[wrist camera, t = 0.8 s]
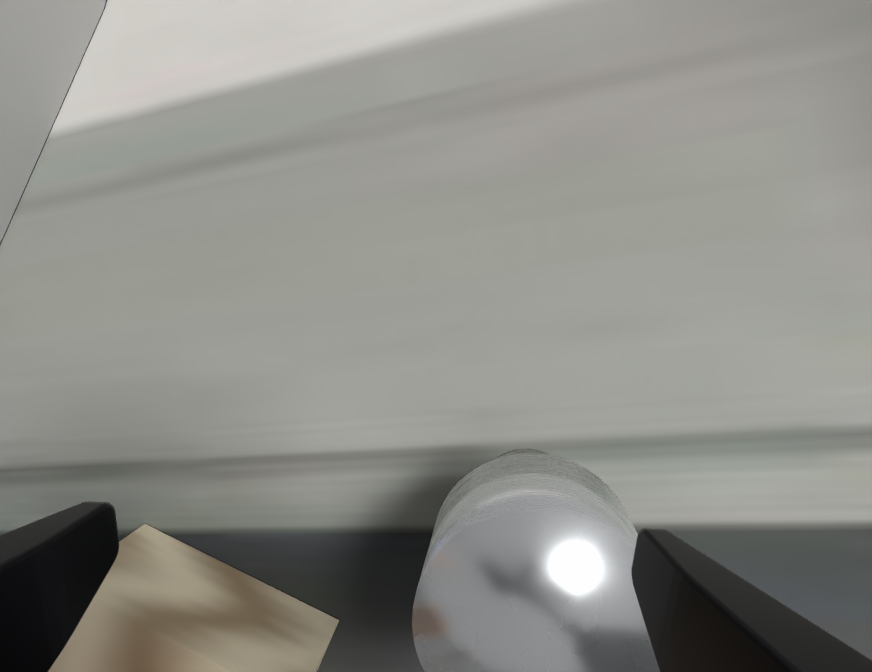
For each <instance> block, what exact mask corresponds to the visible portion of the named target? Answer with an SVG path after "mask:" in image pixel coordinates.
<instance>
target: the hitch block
mask: <svg viewBox="0 0 872 672" xmlns="http://www.w3.org/2000/svg"><path fill="white" fill-rule="evenodd" d="M338 623H339V620H338V619H336V618H334V617H332V616H330V615H328V614H326V613H324V612H322V611H320V610H318V609H316V608H313V607H311V606H309V605H307V604H305V603H303V602H301V601H299V600H297V599H295V598H293V597H291V596H289V595H287V594H285V593H283V592H281V591H279V590H277V589H275V588H273V587H271V586H269V585H267V584H265V583H263V582H261V581H259V580H257V579H255V578H253V577H251V576H249V575H247V574H245V573H243V572H241V571H239V570H237V569H235V568H233V567H231V566H229V565H227V564H225V563H223V562H221V561H219V560H217V559H215V558H213V557H211V556H209V555H207V554H205V553H203V552H201V551H199V550H197V549H195V548H193V547H191V546H189V545H186V544H184V543H182V542H180V541H178V540H176V539H174V538H172V537H170V536H168V535H166V534H164V533H162V532H160V531H158V530H156V529H154V528H152V527H150V526H148V525H146V524H144V525H142V526H141V527H140V528H138V529H137V530H135V531H134V532H132V533H131V534H130V535H128V536H127V537H125V538H124V539H122V540H121V541H120V542H119V551H118V555H117V557H116V560H115V562H114V563H113V565H112V567H111V569H110V570H109V572H108V574H107V576H106V577H105V579H104V581H103V582H102V584H101V586H100V588H99V589H98V591H97V593H96V595H95V596H94V598H93V600H92V601H91V603H90V605H89V607H88V608H87V610H86V612H85V614H84V615H83V617H82V619H81V620H80V622H79V624H78V626H77V627H76V629H75V631H74V633H73V634H72V636H71V637H70V639H69V641H68V642H67V644H66V646H65V647H64V649H63V650H62V652H61V653H60V655H59V656H58V658H57V659H56V661H55V662H54V664H53V665H52V667H51V668H50V669H49V671H48V672H317V671H318V668H319V666H320V664H321V661H322V659H323V657H324V655H325V652H326V650H327V648H328V645H329V643H330V641H331V639H332V636H333V634H334V632H335V629H336V627H337V625H338Z"/></svg>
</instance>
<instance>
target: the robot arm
mask: <svg viewBox="0 0 872 672" xmlns="http://www.w3.org/2000/svg"><path fill="white" fill-rule="evenodd" d="M118 551H119V538H118V530H117V522H116V514H115V509H114V507H113V505H111V504H110V503H106V502H83V503H81V504H78V505H76V506H73V507H71V508H68V509H66V510H63V511H61V512H58V513H56V514H53V515H51V516H48V517H45V518H43V519H40V520H38V521H35V522H33V523H30V524H28V525H25V526H23V527H20V528H18V529H15V530H13V531H10V532H8V533H5V534H3V535H0V672H48V671H49V669H50V668H51V667H52V665H53V664H54V662H55V661H56V659H57V658H58V656H59V655H60V653H61V652H62V650H63V649H64V647H65V646H66V644H67V642H68V641H69V639H70V637H71V636H72V634H73V633H74V631H75V629H76V627H77V626H78V624H79V622H80V620H81V619H82V617H83V615H84V614H85V612H86V610H87V608H88V607H89V605H90V603H91V601H92V600H93V598H94V596H95V595H96V593H97V591H98V589H99V588H100V586H101V584H102V582H103V581H104V579H105V577H106V576H107V574H108V572H109V570H110V569H111V567H112V565H113V563H114V562H115V560H116V557H117V555H118ZM631 576H632V583H633V586H634V590H635V593H636V596H637V600H638V603H639V606H640V609H641V613H642V616H643V619H644V622H645V626H646V629H647V632H648V635H649V639H650V642H651V645H652V649H653V652H654V655H655V658H656V661H657V664H658V667H659V670H660V672H872V660H871V659H869V658H868V657H866V656H864V655H863V654H861V653H860V652H858V651H857V650H855V649H853V648H852V647H850V646H849V645H847V644H845V643H844V642H842V641H841V640H839V639H838V638H836V637H834V636H833V635H831V634H830V633H828V632H826V631H825V630H823V629H822V628H820V627H819V626H817V625H815V624H814V623H812V622H811V621H809V620H808V619H806V618H804V617H803V616H801V615H800V614H798V613H796V612H795V611H793V610H792V609H790V608H789V607H787V606H785V605H784V604H782V603H781V602H779V601H777V600H776V599H774V598H773V597H771V596H770V595H768V594H766V593H765V592H763V591H762V590H760V589H759V588H757V587H755V586H754V585H752V584H751V583H749V582H747V581H746V580H744V579H743V578H741V577H740V576H738V575H736V574H735V573H733V572H732V571H730V570H728V569H727V568H725V567H724V566H722V565H721V564H719V563H717V562H716V561H714V560H713V559H711V558H710V557H708V556H706V555H705V554H703V553H702V552H700V551H698V550H697V549H695V548H694V547H692V546H691V545H689V544H687V543H686V542H684V541H683V540H681V539H680V538H678V537H676V536H675V535H673V534H672V533H670V532H668V531H667V530H664V529H647V528H644V529H642V530H640V531H639V533H638V536H637V541H636V546H635V552H634V557H633V563H632V569H631Z"/></svg>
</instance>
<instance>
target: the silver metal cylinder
mask: <svg viewBox="0 0 872 672" xmlns="http://www.w3.org/2000/svg"><path fill="white" fill-rule="evenodd" d="M637 536H638V534H637V532H636V530H635V528H634V526H633V524H632V522H631V520H630V518H629V516H628V514H627V512H626V510H625V508H624V506H623V505H622V503H621V501H620V500H619V498H618V497H617V496H616V494H615V493H614V492H613V491H612V490H611V489H610V487H609V486H608V485H607V484H605V483H604V482H603V481H602V480H601V479H600V478H599V477H597V476H596V475H595V474H593V473H592V472H590V471H589V470H587V469H586V468H584V467H582V466H580V465H578V464H576V463H574V462H571V461H569V460H566V459H563V458H560V457H556V456H552V455H549V454H547V453H545V452H542V451H538V450H532V449H519V450H514V451H510V452H507V453H505V454H503V455H501V456H499V457H498V458H496V459H493V460H491V461H489V462H486V463H484V464H482V465H480V466H478V467H477V468H475V469H473V470H472V471H471V472H469V473H468V474H467V475H465V476H464V477H463V478H462V479H461V480H460V481H459V482H458V483H457V484H456V485H455V486H454V487H453V488H452V490H451V491H450V492H449V494H448V495H447V497H446V499H445V500H444V502H443V504H442V506H441V508H440V511H439V514H438V516H437V519H436V523H435V527H434V530H433V534H432V537H431V541H430V544H429V548H428V552H427V555H426V559H425V562H424V566H423V569H422V573H421V576H420V580H419V584H418V587H417V591H416V595H415V600H414V604H413V614H412V629H413V639H414V644H415V648H416V652H417V655H418V658H419V661H420V664H421V666H422V668H423V670H424V672H660V670H659V667H658V664H657V661H656V658H655V655H654V652H653V649H652V645H651V642H650V639H649V635H648V632H647V629H646V626H645V622H644V619H643V616H642V613H641V609H640V606H639V603H638V600H637V596H636V593H635V590H634V586H633V583H632V576H631V569H632V563H633V557H634V552H635V546H636V541H637Z"/></svg>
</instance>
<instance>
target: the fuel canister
mask: <svg viewBox="0 0 872 672" xmlns="http://www.w3.org/2000/svg"><path fill="white" fill-rule="evenodd" d="M105 3H106V0H0V243H1V241H2V238H3V236H4V234H5V232H6V229H7V227H8V225H9V223H10V220H11V218H12V216H13V214H14V211H15V209H16V207H17V204H18V202H19V200H20V198H21V195H22V193H23V191H24V189H25V186H26V184H27V182H28V180H29V177H30V175H31V173H32V170H33V168H34V166H35V164H36V161H37V159H38V157H39V155H40V152H41V150H42V148H43V146H44V143H45V141H46V139H47V137H48V134H49V132H50V130H51V127H52V125H53V123H54V121H55V118H56V116H57V114H58V112H59V109H60V107H61V105H62V103H63V100H64V98H65V96H66V93H67V91H68V89H69V87H70V84H71V82H72V80H73V78H74V75H75V73H76V71H77V69H78V66H79V64H80V62H81V60H82V57H83V55H84V53H85V50H86V48H87V46H88V44H89V41H90V39H91V37H92V35H93V32H94V30H95V28H96V26H97V23H98V21H99V19H100V16H101V14H102V12H103V10H104V7H105Z"/></svg>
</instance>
